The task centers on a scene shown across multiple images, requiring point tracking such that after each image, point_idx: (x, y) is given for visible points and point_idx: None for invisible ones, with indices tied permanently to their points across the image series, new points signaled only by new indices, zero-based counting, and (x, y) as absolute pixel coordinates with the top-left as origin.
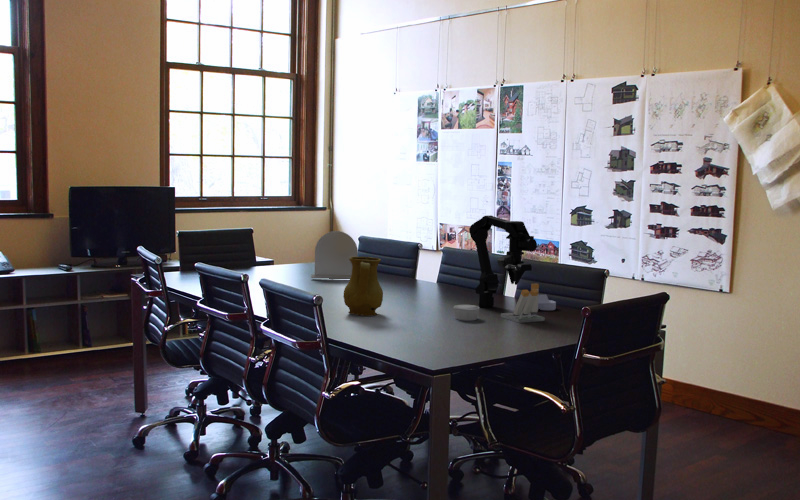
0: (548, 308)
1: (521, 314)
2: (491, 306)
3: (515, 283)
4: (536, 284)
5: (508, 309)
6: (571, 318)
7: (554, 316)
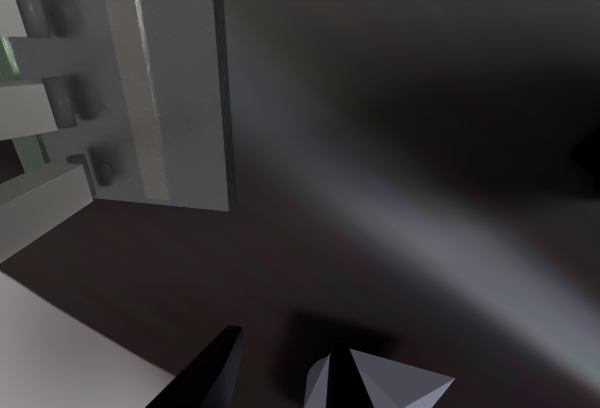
0: (309, 376)
1: (128, 112)
2: (590, 157)
3: (215, 339)
4: None
5: (444, 223)
6: (107, 325)
7: (163, 299)
